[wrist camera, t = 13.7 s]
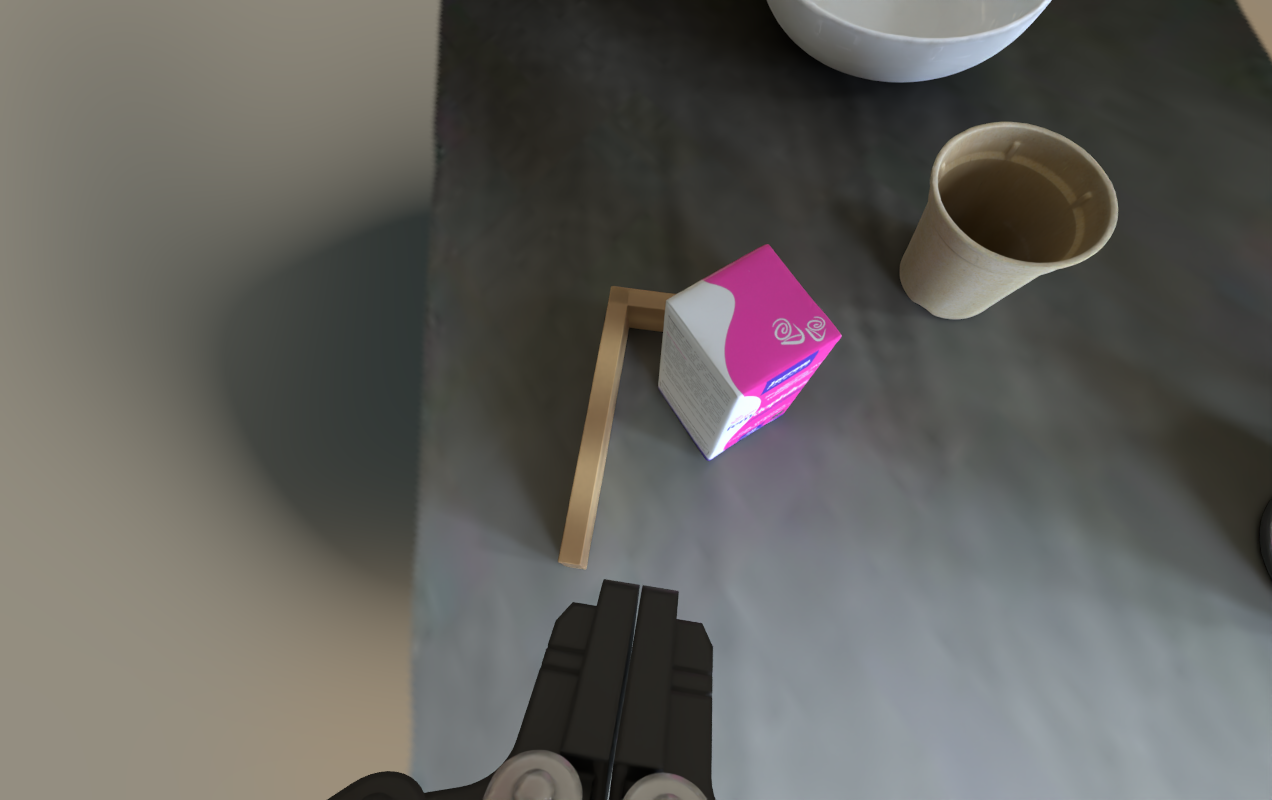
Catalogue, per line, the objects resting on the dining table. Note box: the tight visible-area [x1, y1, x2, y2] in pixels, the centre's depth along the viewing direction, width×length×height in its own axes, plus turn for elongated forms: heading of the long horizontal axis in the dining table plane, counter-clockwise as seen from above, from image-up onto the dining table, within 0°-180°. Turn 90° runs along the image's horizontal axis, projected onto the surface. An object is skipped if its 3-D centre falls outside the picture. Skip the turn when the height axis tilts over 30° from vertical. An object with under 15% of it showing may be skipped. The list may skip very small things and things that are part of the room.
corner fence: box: [558, 286, 676, 569], centre depth 34 cm, size 16×11×3 cm, turn 171°
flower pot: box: [900, 122, 1118, 319], centre depth 35 cm, size 9×9×9 cm
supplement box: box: [658, 244, 842, 461], centre depth 31 cm, size 6×6×12 cm
